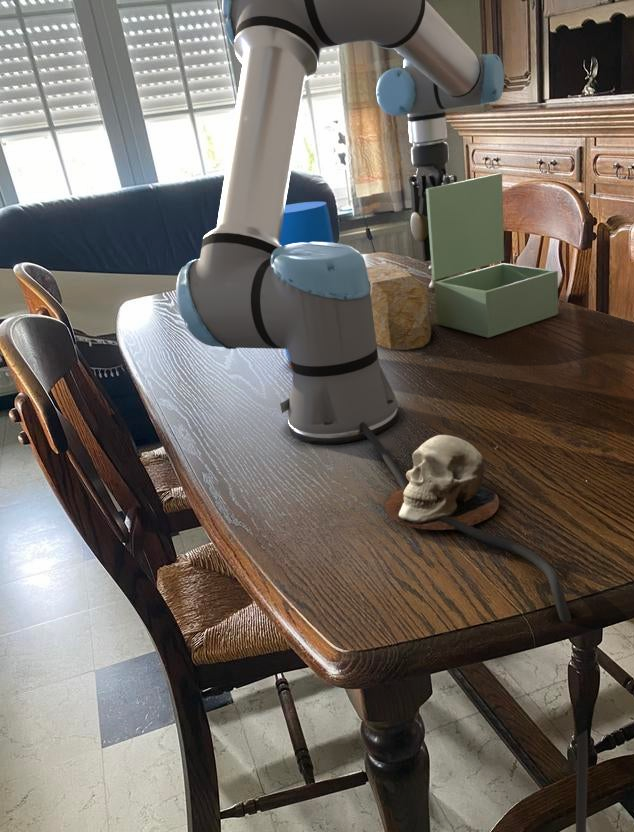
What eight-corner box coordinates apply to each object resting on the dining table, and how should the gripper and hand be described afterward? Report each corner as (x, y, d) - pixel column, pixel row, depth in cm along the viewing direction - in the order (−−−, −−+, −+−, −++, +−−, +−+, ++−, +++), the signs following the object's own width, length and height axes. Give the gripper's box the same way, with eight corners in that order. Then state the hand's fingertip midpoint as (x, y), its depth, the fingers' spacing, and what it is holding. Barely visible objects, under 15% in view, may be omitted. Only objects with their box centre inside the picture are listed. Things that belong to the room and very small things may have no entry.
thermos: (293, 377, 123) (263, 217, 111) (284, 359, 132) (255, 209, 120) (357, 364, 125) (334, 205, 113) (343, 347, 134) (320, 199, 122)
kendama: (415, 291, 165) (405, 194, 155) (454, 282, 168) (447, 186, 158) (427, 295, 160) (418, 196, 150) (466, 286, 163) (460, 188, 153)
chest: (558, 314, 136) (557, 270, 132) (488, 338, 129) (485, 292, 125) (504, 303, 147) (502, 262, 143) (437, 324, 140) (433, 282, 136)
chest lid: (502, 173, 135) (480, 172, 140) (428, 189, 128) (408, 187, 132) (504, 260, 143) (483, 257, 147) (434, 280, 136) (415, 275, 140)
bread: (445, 341, 130) (441, 283, 125) (385, 354, 128) (378, 295, 123) (388, 300, 161) (382, 252, 156) (339, 310, 159) (331, 261, 154)
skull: (443, 544, 71) (387, 453, 72) (402, 572, 80) (353, 491, 81) (530, 493, 76) (477, 410, 78) (483, 525, 85) (436, 450, 87)
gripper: (473, 139, 144) (480, 262, 156) (416, 141, 159) (426, 254, 170) (442, 144, 141) (452, 270, 152) (387, 146, 156) (399, 261, 167)
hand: (438, 261), depth 161 cm, fingers closed on kendama, 6 cm apart
